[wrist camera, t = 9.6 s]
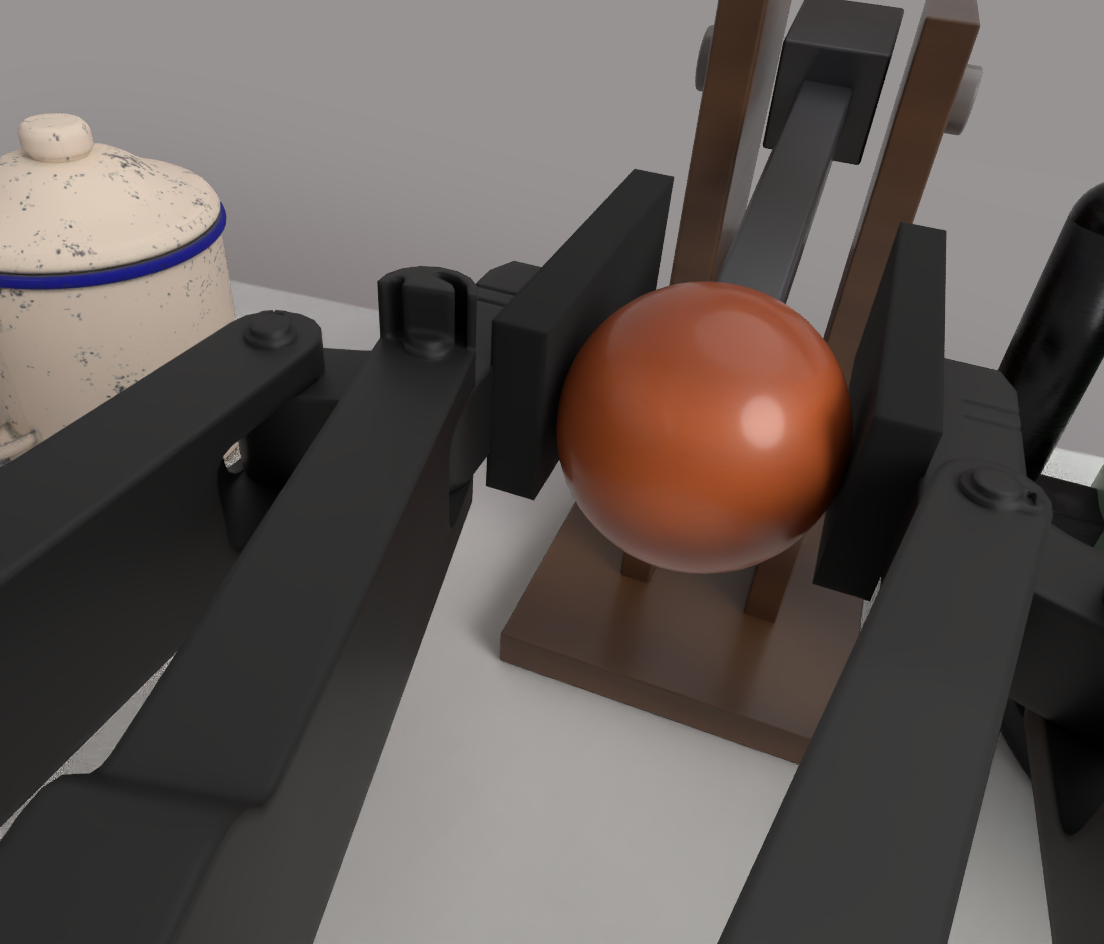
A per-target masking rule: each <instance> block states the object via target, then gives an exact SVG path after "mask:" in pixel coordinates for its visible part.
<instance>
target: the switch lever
mask: <svg viewBox="0 0 1104 944" xmlns="http://www.w3.org/2000/svg"><path fill="white" fill-rule="evenodd" d="M903 14H904V9H902V8H896V7H889V6H882V5H875V4H868V3H860V2H853V1H846V0H804V2H803V4H802V6H801V8H800V10H799V12H798V14H797V16H796V18H795V20H794V22H793V24H792V26H791V28H790V30H789V32H788V34H787V36H786V38H785V40H784V42H783V46H782V51H781V57H780V61H779V66H778V72H777V76H776V81H775V86H774V91H773V96H772V101H771V106H770V111H769V116H768V121H767V126H766V131H765V136H764V141H763V147H764V148H768V149H772V152H771V154H770V156H769V159H768V161H767V163H766V165H765V168H764V170H763V172H762V175H761V177H760V179H759V182H758V184H757V186H756V188H755V191H754V193H753V195H752V198H751V200H750V202H749V205H748V207H747V209H746V212H745V214H744V216H743V219H742V221H741V223H740V226H739V228H738V230H737V232H736V235H735V237H734V239H733V242H732V244H731V246H730V249H729V251H728V253H727V256H726V258H725V260H724V263H723V265H722V267H721V270H720V272H719V274H718V277H717V279H716V281H715V282H712V281H698V282H687V283H680V284H675V285H671V286H667V287H664V288H661V289H658V290H655V291H651V292H649V293H646V294H644V295H642V296H640V297H638V298H636V299H635V300H633V301H631V302H629V303H628V304H626V305H624V306H623V307H621V308H619V309H618V310H617V311H615V312H614V313H613V314H612V315H610V316H609V317H608V318H607V319H606V320H605V321H604V322H603V323H601V324H600V325H599V326H598V327H597V328H596V330H595V331H594V332H593V333H592V334H591V335H590V336H589V338H588V339H587V340H586V342H585V343H584V344H583V346H582V347H581V349H580V350H579V352H578V353H577V355H576V357H575V359H574V361H573V363H572V365H571V367H570V369H569V371H568V373H567V375H566V378H565V381H564V384H563V387H562V391H561V395H560V399H559V403H558V411H557V423H556V436H557V447H558V454H559V460H560V463H561V467H562V470H563V474H564V477H565V480H566V483H567V485H568V487H569V489H570V491H571V493H572V495H573V497H574V499H575V501H576V503H577V505H578V506H579V508H580V509H581V510H582V512H583V513H584V515H585V516H586V517H587V519H588V520H589V521H590V522H591V523H592V524H593V526H594V527H595V528H596V529H597V530H598V531H599V532H600V533H601V534H602V535H603V536H604V537H605V538H607V539H608V540H609V541H610V542H611V543H613V544H614V545H615V546H617V547H618V548H620V549H622V550H623V551H625V552H626V553H628V554H629V555H631V556H633V557H635V558H637V559H639V560H641V561H643V562H645V563H648V564H651V565H653V566H656V567H659V568H662V569H666V570H670V571H674V572H681V573H688V574H715V573H725V572H731V571H736V570H741V569H745V568H748V567H751V566H754V565H757V564H759V563H761V562H763V561H765V560H768V559H770V558H772V557H774V556H776V555H778V554H780V553H781V552H783V551H784V550H786V549H788V548H789V547H791V546H792V545H793V544H794V543H796V542H797V541H798V540H799V539H801V538H802V537H803V536H804V535H805V534H806V533H807V532H808V531H810V530H811V529H812V528H813V526H814V525H815V524H816V523H817V521H818V520H819V519H820V518H821V516H822V515H823V514H824V513H825V511H826V510H827V509H828V508H829V506H830V504H831V503H832V501H833V499H834V497H835V495H836V493H837V491H838V489H839V487H840V485H841V483H842V481H843V478H844V475H845V472H846V468H847V465H848V462H849V458H850V455H851V446H852V436H853V417H852V407H851V398H850V395H849V391H848V388H847V384H846V381H845V378H844V374H843V372H842V370H841V368H840V366H839V364H838V361H837V360H836V358H835V356H834V354H833V352H832V350H831V349H830V347H829V346H828V344H827V343H826V342H825V340H824V339H823V338H822V337H821V335H820V334H819V333H818V332H817V331H816V330H815V329H814V327H813V326H812V325H811V324H810V323H809V322H808V321H807V320H806V319H804V318H803V317H802V316H801V315H800V314H798V313H797V312H795V311H794V310H793V309H791V308H790V307H789V306H787V305H786V301H787V299H788V295H789V292H790V289H791V286H792V283H793V280H794V277H795V274H796V271H797V268H798V265H799V262H800V259H801V256H802V253H803V250H804V246H805V244H806V241H807V238H808V234H809V231H810V229H811V225H812V222H813V219H814V216H815V213H816V210H817V207H818V204H819V201H820V198H821V195H822V192H823V189H824V186H825V183H826V180H827V177H828V174H829V171H830V168H831V164H832V162H833V161H838V162H844V163H849V164H854V165H859V164H860V162H861V159H862V156H863V152H864V149H865V145H866V142H867V138H868V135H869V132H870V128H871V125H872V122H873V118H874V115H875V111H876V108H877V104H878V101H879V98H880V94H881V90H882V87H883V84H884V81H885V77H886V74H887V70H888V67H889V64H890V60H891V57H892V53H893V50H894V46H895V42H896V39H897V35H898V32H899V28H900V25H901V21H902V17H903Z"/></svg>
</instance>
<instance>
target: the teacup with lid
mask: <svg viewBox="0 0 1104 944" xmlns="http://www.w3.org/2000/svg"><path fill="white" fill-rule="evenodd" d="M18 137H19V140H20V143H21V146H22V148H21V149H18V150H15V151H12V152H9V153H8V154H5V155H4V156H2V157H0V460H3V459H6V458H8V457H9V458H10V460H11V461H13V460H14V459H16V458H17V457H19V456H21V455H22V454H24V453H25V452H27V451H28V450H30V449H32V448H33V447H35V446H36V445H38V444H40V443H41V442H43V441H44V440H46V439H47V438H49V437H51V436H52V435H54V434H55V433H57V432H58V431H60V430H62V429H63V428H65V427H66V426H68V425H70V424H71V423H73V422H74V421H76V420H77V419H79V418H81V417H82V416H84V415H85V414H87V413H88V412H90V411H92V410H93V409H95V408H96V407H98V406H99V405H101V404H103V403H104V402H106V401H107V400H109V399H111V398H112V397H114V396H115V395H117V394H118V393H120V392H122V391H123V390H125V389H126V388H128V387H129V386H131V385H133V384H134V383H136V382H137V381H139V380H141V379H142V378H144V377H145V376H147V375H148V374H150V373H152V372H153V371H155V370H156V369H158V368H159V367H161V366H163V365H164V364H166V363H167V362H169V361H171V360H172V359H174V358H175V357H177V356H178V355H180V354H182V353H183V352H185V351H186V350H188V349H189V348H191V347H193V346H194V345H196V344H197V343H199V342H200V341H202V340H204V339H205V338H207V337H208V336H210V335H212V334H213V333H215V332H216V331H218V330H219V329H221V328H223V327H224V326H226V325H227V324H229V323H230V322H233V321H235V320H236V315H235V309H234V303H233V297H232V292H231V286H230V280H229V274H228V268H227V262H226V256H225V251H224V245H223V239H222V232H223V230H224V228H225V225H226V213H225V209H224V207H223V205H222V203H221V202H220V200H219V198H218V196H217V194H216V192H215V191H214V190H213V189H212V187H211V186H210V185H209V184H208V183H207V182H206V181H205V180H204V179H203V178H201V177H200V176H198V175H197V174H195V173H193V172H191V171H189V170H187V169H185V168H182V167H180V166H177V165H174V164H170V163H167V162H163V161H158V160H153V159H147V158H141V157H137V156H135V155H133V154H131V153H129V152H126V151H124V150H121V149H119V148H116V147H113V146H109V145H105V144H100V143H93V138H92V134H91V130H90V128H89V126H88V125H87V123H86V122H84V121H83V120H82V119H81V118H79V117H77V116H74V115H70V114H62V113H50V114H41V115H36V116H32V117H29V118H27V119H25V120H23V121H22V122H21V124H20V126H19V128H18ZM238 445H239V443H238V442H236V443H235V444H234V445H233V446H232V447H231V448H230V449H229V450H228V452H227V453H226V454H225V455H224V456H223V458H224V459H225V458H226V457H227V456H229V455H230V454H231V453H232V452H233V451H234V450H235V448H236V447H237V446H238Z"/></svg>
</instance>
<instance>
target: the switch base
mask: <svg viewBox="0 0 1104 944" xmlns="http://www.w3.org/2000/svg"><path fill="white" fill-rule="evenodd" d="M790 5H791V0H718V6H717V12H716V17H715V24H714V25H711V26H709V27H708V28H707V30H706V32H705V35H704V38H703V40H702V44H701V47H700V51H699V56H698V61H697V68H696V77H695V78H696V79H695V83H696V89H697V90H698V91H703V93H702V99H701V105H700V110H699V117H698V122H697V128H696V134H695V140H694V145H693V151H692V157H691V163H690V169H689V174H688V180H687V186H686V192H685V198H684V203H683V210H682V215H681V221H680V227H679V233H678V239H677V244H676V250H675V256H674V263H673V268H672V273H671V279H670V285H669V286H671V285H675V284H680V283H687V282H698V281H712V282H715V281H716V279H717V277H718V274H719V272H720V270H721V267H722V265H723V263H724V260H725V258H726V256H727V253H728V251H729V249H730V246H731V244H732V242H733V239H734V237H735V235H736V232H737V230H738V228H739V226H740V223H741V221H742V219H743V216H744V214H745V211H746V206H747V202H748V197H749V193H750V188H751V183H752V179H753V174H754V170H755V165H756V161H757V156H758V151H759V147H760V142H761V138H762V133H763V128H764V124H765V119H766V114H767V110H768V106H769V101H770V96H771V92H772V87H773V82H774V78H775V73H776V69H777V64H778V60H779V55H780V50H781V46H782V41H783V37H784V31H785V27H786V23H787V18H788V14H789V9H790ZM979 28H980V21H979V14H978V7H977V1H976V0H926V2H925V5H924V9H923V12H922V15H921V18H920V22H919V25H918V28H917V32H916V35H915V38H914V42H913V45H912V48H911V51H910V55H909V58H908V61H907V65H906V68H905V71H904V74H903V78H902V81H901V84H900V88H899V91H898V94H897V98H896V101H895V104H894V108H893V111H892V114H891V117H890V121H889V124H888V127H887V131H886V134H885V137H884V141H883V144H882V147H881V150H880V153H879V157H878V160H877V163H876V167H875V170H874V173H873V176H872V180H871V183H870V186H869V190H868V193H867V196H866V200H865V203H864V206H863V209H862V213H861V216H860V219H859V223H858V226H857V229H856V233H855V236H854V239H853V242H852V246H851V249H850V252H849V255H848V259H847V262H846V265H845V269H844V272H843V275H842V279H841V282H840V285H839V289H838V292H837V295H836V299H835V302H834V305H833V308H832V311H831V315H830V318H829V321H828V325H827V328H826V331H825V334H824V338H823V339H824V340H825V342H826V343H827V344H828V346H829V347H830V349H831V350H832V352H833V354H834V356H835V358H836V360H837V361H838V364H839V366H840V368H841V370H842V372H843V374H844V378H845V381H846V384H847V388H848V390H849V385H850V380H851V374H852V369H853V364H854V359H855V356H856V353H857V350H858V347H859V344H860V341H861V338H862V335H863V332H864V329H865V326H866V323H867V320H868V317H869V314H870V311H871V308H872V305H873V302H874V299H875V296H876V293H877V290H878V287H879V284H880V281H881V278H882V275H883V272H884V269H885V266H886V263H887V260H888V257H889V254H890V251H891V248H892V245H893V242H894V239H895V236H896V233H897V231H898V228H899V225H900V222H905V223H910V224H912V223H913V220H914V217H915V214H916V212H917V209H918V206H919V203H920V200H921V197H922V194H923V191H924V189H925V186H926V183H927V180H928V177H929V174H930V171H931V168H932V165H933V162H934V159H935V157H936V154H937V151H938V148H939V145H940V142H941V139H942V136H943V133H948V134H953V135H960V134H961V133H962V131H963V130H964V128H965V125H966V123H967V121H968V118H969V115H970V113H971V110H972V107H973V104H974V101H975V99H976V96H977V92H978V89H979V85H980V82H981V78H982V73H983V68H982V67H981V66H975V65H969V64H967V63H968V60H969V58H970V55H971V52H972V49H973V46H974V43H975V40H976V37H977V34H978V31H979ZM825 513H826V511H825ZM825 513H824V514H823V515H822V516H821V518H820V519H819V520H818V521H817V523H816V524H815V525H814V526H813V528H812V529H811V530H810V531H808V532H807V533H806V534H805V535H804V536H803V537H802V538H801V539H799V540H798V541H797V542H796V543H794V544H793V545H792V546H791V547H789V548H788V549H786V550H784V551H783V552H781V553H780V554H778V555H776V556H774V557H772V558H770V559H768V560H765V561H763V562H761V563H759V564H757V565H754V566H751V567H748V568H745V569H741V570H736V571H731V572H725V573H715V574H688V573H681V572H674V571H670V570H666V569H662V568H659V567H656V566H653V565H651V564H648V563H645V562H643V561H641V560H639V559H637V558H635V557H633V556H631V555H629V554H628V553H626V552H625V551H623V550H622V549H620V548H618V547H617V546H615V545H614V544H613V543H611V542H610V541H609V540H608V539H607V538H605V537H604V536H603V535H602V534H601V533H600V532H599V531H598V530H597V529H596V528H595V527H594V526H593V524H592V523H591V522H590V521H589V520H588V519H587V517H586V516H585V515H584V513H583V512H582V510H581V509H580V508H579V506H578V505H577V503H576V501H575V503H574V505H573V507H572V508H571V510H570V512H569V514H568V516H567V517H566V519H565V521H564V523H563V524H562V526H561V528H560V530H559V531H558V533H557V535H556V537H555V539H554V540H553V542H552V544H551V546H550V547H549V549H548V551H547V553H546V554H545V556H544V558H543V560H542V562H541V563H540V565H539V567H538V569H537V570H536V572H535V574H534V576H533V577H532V579H531V581H530V583H529V585H528V586H527V588H526V590H525V592H524V593H523V595H522V597H521V599H520V601H519V602H518V604H517V606H516V608H515V609H514V611H513V613H512V615H511V616H510V618H509V620H508V622H507V624H506V625H505V627H504V629H503V631H502V632H501V640H500V660H502V661H505V662H508V663H511V664H514V665H516V666H519V667H522V668H525V669H528V670H531V671H534V672H536V673H539V674H542V675H545V676H548V677H551V678H554V679H557V680H559V681H562V682H565V683H568V684H571V685H574V686H577V687H579V688H582V689H585V690H588V691H591V692H594V693H597V694H599V695H602V696H605V697H608V698H611V699H614V700H617V701H619V702H622V703H625V704H628V705H631V706H634V707H637V708H640V709H642V710H645V711H648V712H651V713H654V714H657V715H660V716H662V717H665V718H668V719H671V720H674V721H677V722H680V723H682V724H685V725H688V726H691V727H694V728H697V729H700V730H702V731H705V732H708V733H711V734H714V735H717V736H720V737H723V738H725V739H728V740H731V741H734V742H737V743H740V744H743V745H745V746H748V747H751V748H754V749H757V750H760V751H763V752H765V753H768V754H771V755H774V756H777V757H780V758H783V759H786V760H788V761H791V762H794V763H797V764H800V762H801V760H802V758H803V756H804V754H805V751H806V749H807V747H808V745H809V743H810V741H811V738H812V736H813V734H814V732H815V730H816V727H817V725H818V723H819V721H820V719H821V717H822V714H823V712H824V710H825V708H826V706H827V703H828V701H829V699H830V697H831V695H832V693H833V690H834V688H835V686H836V684H837V682H838V679H839V677H840V675H841V673H842V671H843V669H844V666H845V664H846V662H847V660H848V658H849V655H850V653H851V651H852V649H853V647H854V645H855V642H856V640H857V638H858V636H859V633H860V625H861V616H862V607H863V599H861V598H858V597H854V596H851V595H848V594H844V593H841V592H838V591H834V590H831V589H828V588H824V587H821V586H818V585H814V584H812V582H813V577H814V572H815V566H816V561H817V556H818V550H819V545H820V540H821V534H822V529H823V524H824V518H825Z"/></svg>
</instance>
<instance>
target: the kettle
mask: <svg viewBox="0 0 1104 944" xmlns="http://www.w3.org/2000/svg"><path fill="white" fill-rule="evenodd" d="M1103 357H1104V182H1103V183H1101V184H1099V185H1097V186H1095V187H1093V188H1092V189H1090V190H1089V191H1087V192H1086V193H1085V194H1084V195H1083V196H1082V197H1081V198H1080V199H1079V200H1078V201H1077V203H1076V204H1075V205H1074V207H1073V208H1072V210H1071V212H1070V214H1069V216H1068V218H1067V220H1066V222H1065V224H1064V227H1063V229H1062V231H1061V233H1060V235H1059V237H1058V240H1057V242H1056V244H1055V246H1054V249H1053V251H1052V253H1051V255H1050V257H1049V259H1048V262H1047V264H1046V266H1045V268H1044V270H1043V272H1042V275H1041V277H1040V279H1039V281H1038V283H1037V286H1036V288H1035V290H1034V292H1033V295H1032V297H1031V299H1030V301H1029V303H1028V305H1027V308H1026V310H1025V312H1024V314H1023V316H1022V319H1021V321H1020V323H1019V325H1018V327H1017V329H1016V332H1015V334H1014V336H1013V338H1012V340H1011V343H1010V345H1009V347H1008V349H1007V351H1006V353H1005V356H1004V358H1003V360H1002V362H1001V364H1000V367H999V369H998V371H1000V372H1001V373H1002V374H1003V375H1004V377H1005V378H1006V379H1007V380H1008V382H1009V383H1010V384H1011V385H1012V387H1013V388H1014V389H1015V390H1016V391H1017V397H1018V406H1019V413H1018V415H1019V416H1020V423H1021V429H1020V432H1022V441H1023V449H1024V458H1025V467H1026V476H1027V477H1028V478H1029V479H1030V480H1032V481H1033V482H1034V483H1036V484H1037V485H1038V486H1040V487H1041V488H1042V490H1043V491H1044V492H1045V494H1046V495H1047V496H1048V498H1049V499H1050V500H1051V503H1052V510H1053V517H1052V521H1051V523H1052V524H1053V525H1055V526H1056V527H1058V528H1059V529H1060V530H1062V531H1063V532H1065V533H1066V534H1068V535H1070V536H1071V537H1073V538H1075V539H1077V540H1079V541H1081V542H1083V543H1085V544H1087V545H1089V546H1091V547H1093V548H1095V549H1097V550H1100V551H1102V552H1104V465H1103V466H1102V468H1101V470H1100V471H1099V473H1098V475H1097V477H1096V478H1095V480H1094V482H1093V483H1092V485H1091V487H1089V486H1085V485H1081V484H1077V483H1073V482H1069V481H1065V480H1061V479H1057V478H1053V477H1049V476H1045V475H1041V473H1042V471H1043V469H1044V467H1045V465H1046V463H1047V461H1048V460H1049V458H1050V456H1051V454H1052V452H1053V450H1054V448H1055V447H1056V445H1057V443H1058V441H1059V439H1060V437H1061V435H1062V434H1063V432H1064V430H1065V428H1066V426H1067V424H1068V422H1069V421H1070V419H1071V417H1072V415H1073V413H1074V411H1075V409H1076V408H1077V406H1078V404H1079V402H1080V400H1081V398H1082V396H1083V395H1084V393H1085V391H1086V389H1087V387H1088V385H1089V384H1090V382H1091V380H1092V378H1093V376H1094V374H1095V372H1096V371H1097V369H1098V367H1099V365H1100V363H1101V361H1102V359H1103ZM1024 712H1025V707H1024V706H1022V705H1020V704H1019V703H1017V702H1015V701H1013V700H1012V699H1010V698H1008V699H1007V703H1006V707H1005V711H1004V716H1003V720H1002V724H1001V730H1002V733H1003V735H1004V737H1005V739H1006V741H1007V742H1008V744H1009V746H1010V747H1011V749H1012V751H1013V752H1014V754H1015V756H1016V757H1017V759H1018V761H1019V762H1020V764H1021V766H1022V767H1023V768H1024V770H1025V771H1026V773H1027V774H1028V775H1029V777H1030V778H1031V772H1030V764H1029V757H1028V749H1027V741H1026V733H1025V725H1024Z"/></svg>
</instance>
